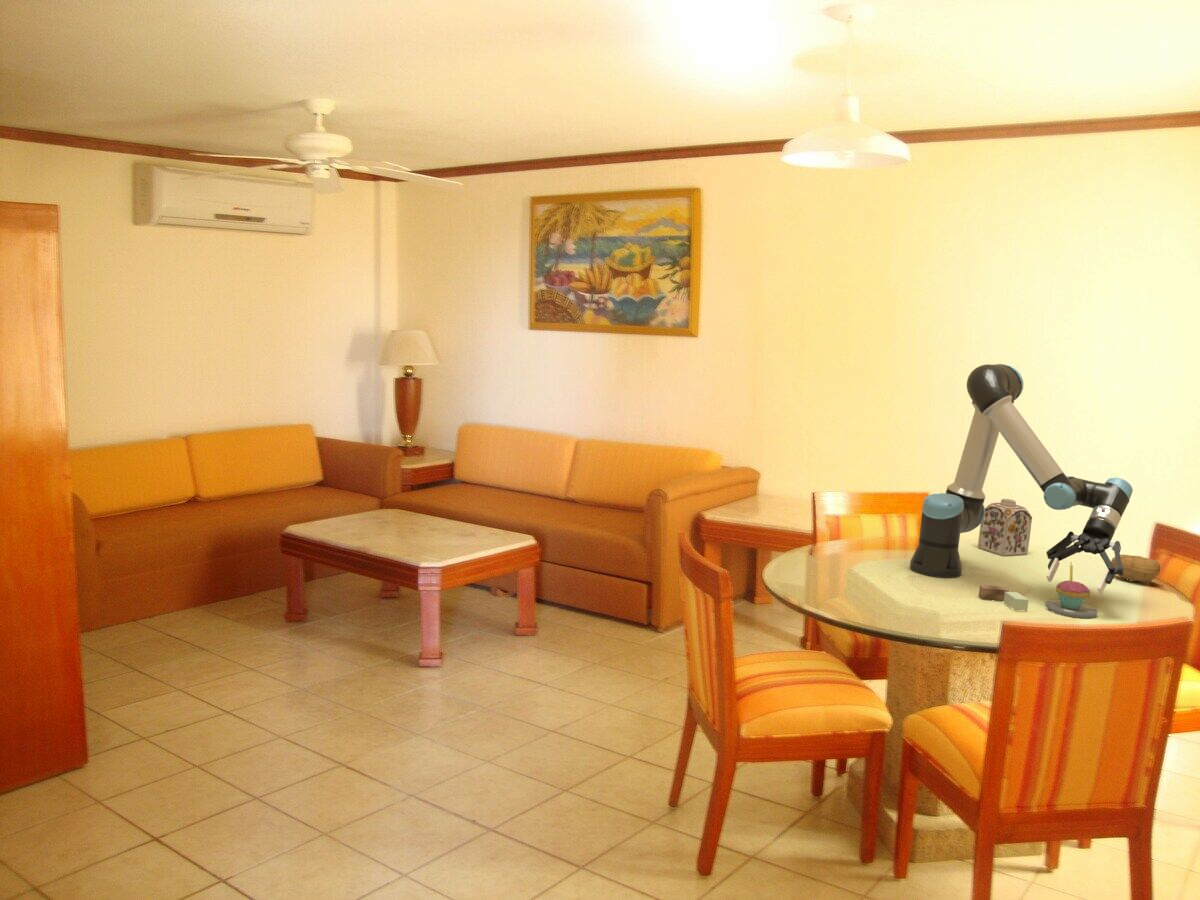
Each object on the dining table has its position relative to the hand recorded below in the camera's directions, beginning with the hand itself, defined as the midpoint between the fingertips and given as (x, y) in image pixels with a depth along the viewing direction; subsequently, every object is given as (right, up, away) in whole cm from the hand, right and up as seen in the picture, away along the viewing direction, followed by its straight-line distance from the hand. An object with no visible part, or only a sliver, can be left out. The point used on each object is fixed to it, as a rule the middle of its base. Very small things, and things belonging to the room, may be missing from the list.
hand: (1073, 585), depth 279 cm
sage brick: (-16, -6, +1) cm, 17 cm away
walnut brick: (-19, -5, +8) cm, 21 cm away
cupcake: (0, -6, +1) cm, 6 cm away
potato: (+37, -4, +40) cm, 54 cm away
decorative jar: (+8, +2, +69) cm, 69 cm away
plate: (0, -7, +1) cm, 7 cm away
